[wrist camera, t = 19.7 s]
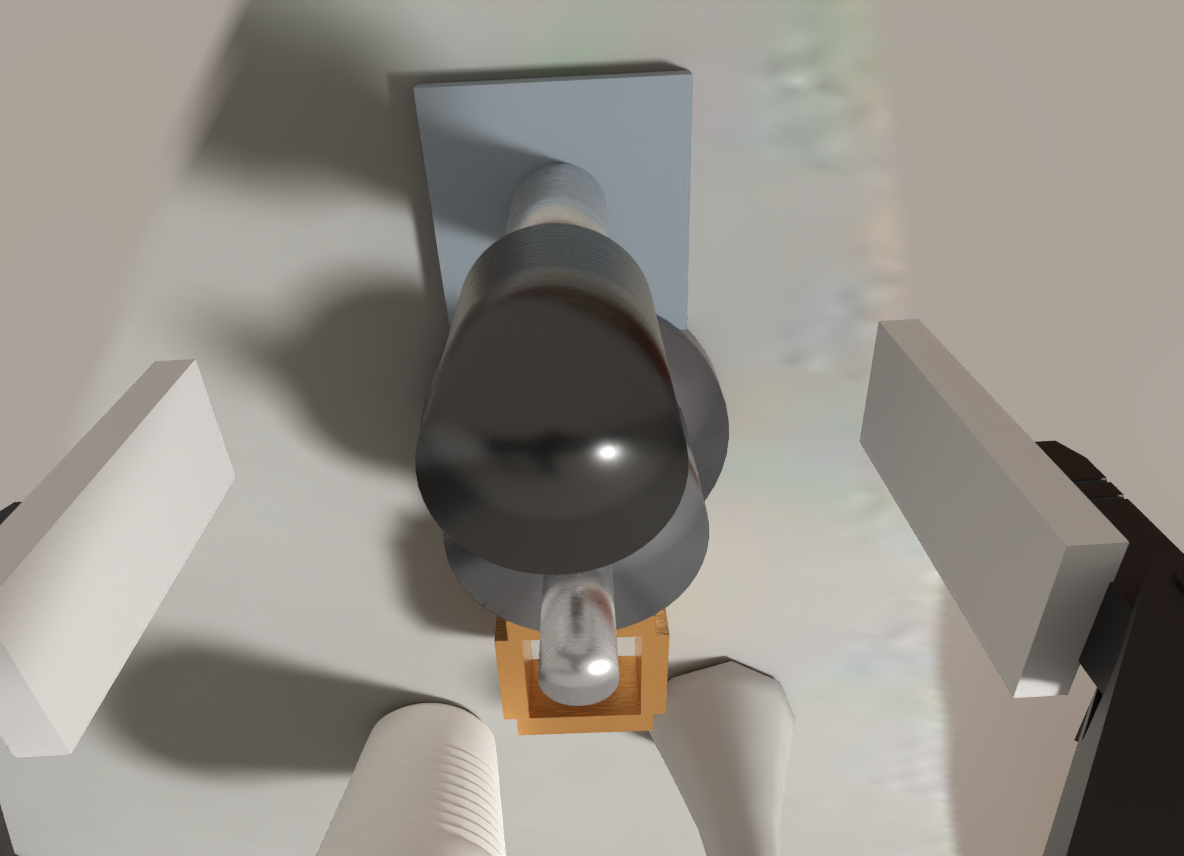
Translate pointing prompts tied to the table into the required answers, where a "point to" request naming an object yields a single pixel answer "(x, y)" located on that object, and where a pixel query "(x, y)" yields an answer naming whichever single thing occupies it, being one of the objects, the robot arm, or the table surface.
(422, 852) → the cup
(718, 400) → the dark grey disc
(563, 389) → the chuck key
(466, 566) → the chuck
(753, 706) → the flask
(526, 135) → the key mat
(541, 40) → the table surface
